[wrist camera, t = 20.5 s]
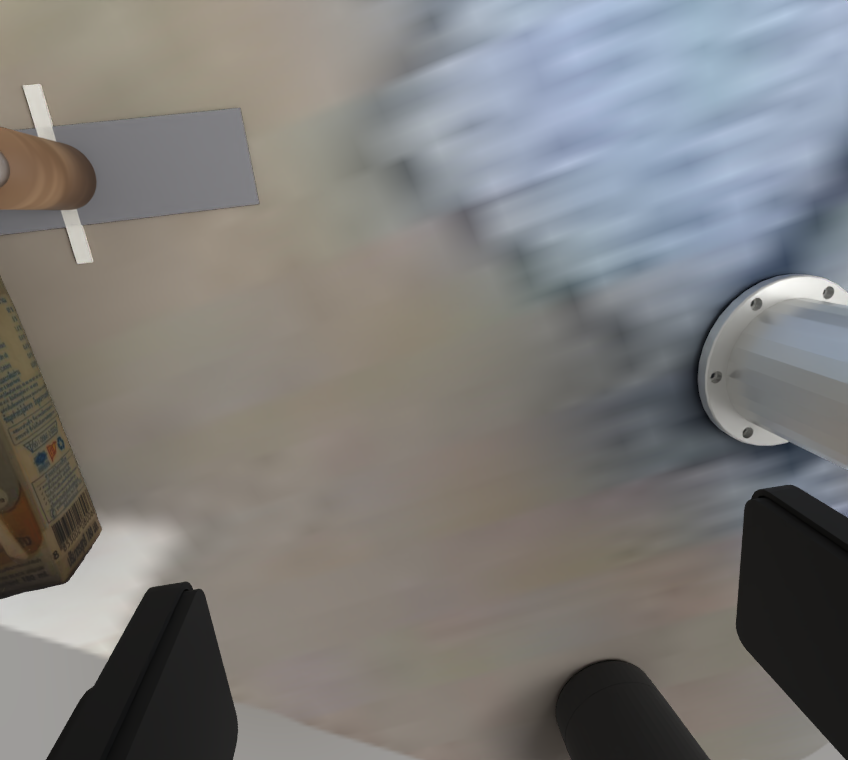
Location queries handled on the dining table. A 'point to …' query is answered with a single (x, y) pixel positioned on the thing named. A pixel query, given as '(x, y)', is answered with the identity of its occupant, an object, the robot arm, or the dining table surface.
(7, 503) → the beverage carton
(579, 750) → the pen holder
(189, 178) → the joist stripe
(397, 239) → the dining table surface
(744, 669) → the dining table surface
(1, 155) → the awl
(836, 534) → the robot arm
